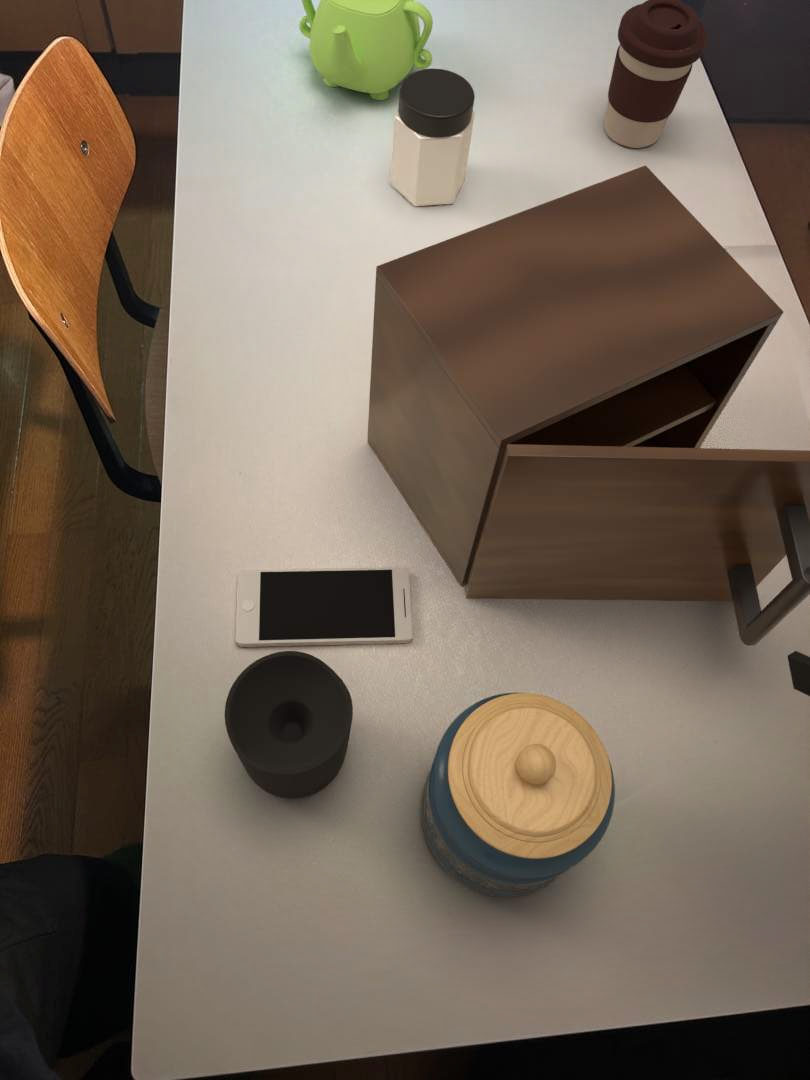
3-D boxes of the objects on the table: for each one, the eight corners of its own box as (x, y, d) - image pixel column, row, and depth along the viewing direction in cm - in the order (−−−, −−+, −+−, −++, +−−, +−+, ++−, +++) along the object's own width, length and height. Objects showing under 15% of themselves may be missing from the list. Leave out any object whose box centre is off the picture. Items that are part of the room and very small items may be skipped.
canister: (508, 937, 72) (556, 909, 56) (386, 818, 75) (399, 762, 60) (608, 812, 77) (677, 755, 61) (489, 706, 80) (525, 627, 65)
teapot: (441, 107, 117) (453, 9, 106) (333, 127, 114) (333, 28, 102) (397, 29, 124) (404, -71, 112) (294, 45, 120) (290, -56, 109)
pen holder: (351, 693, 80) (353, 651, 71) (350, 804, 76) (352, 773, 67) (241, 693, 80) (229, 650, 71) (233, 805, 75) (220, 774, 66)
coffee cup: (585, 104, 119) (616, -13, 105) (660, 103, 120) (700, -13, 107) (601, 158, 114) (635, 43, 101) (678, 156, 115) (723, 42, 102)
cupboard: (682, 476, 93) (784, 311, 72) (460, 587, 86) (501, 440, 64) (580, 349, 100) (645, 164, 79) (366, 442, 92) (376, 266, 71)
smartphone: (238, 573, 85) (237, 569, 84) (408, 570, 86) (408, 566, 85) (236, 647, 81) (235, 643, 80) (412, 643, 83) (413, 639, 82)
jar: (457, 156, 113) (470, 65, 102) (471, 204, 109) (485, 114, 98) (384, 160, 111) (389, 69, 101) (395, 209, 108) (402, 119, 97)
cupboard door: (757, 670, 83) (898, 548, 63) (469, 669, 82) (515, 543, 61) (741, 591, 87) (869, 451, 66) (465, 588, 85) (506, 443, 65)
